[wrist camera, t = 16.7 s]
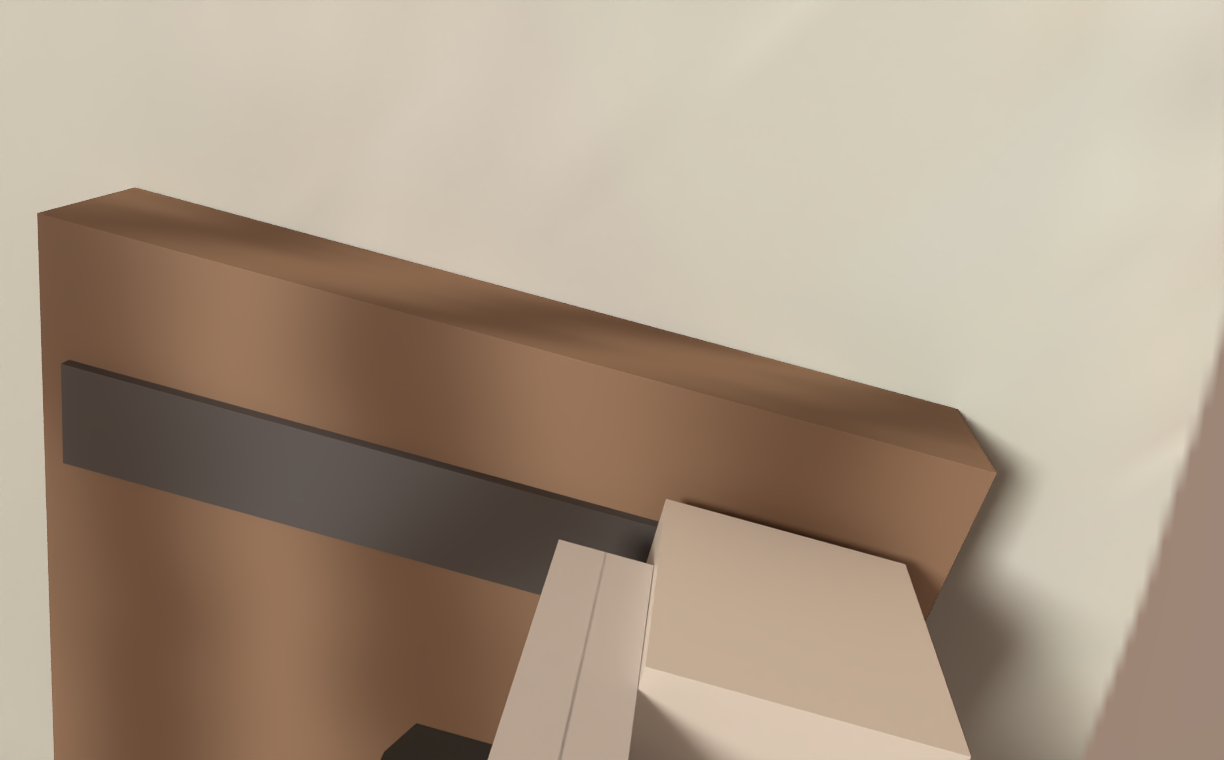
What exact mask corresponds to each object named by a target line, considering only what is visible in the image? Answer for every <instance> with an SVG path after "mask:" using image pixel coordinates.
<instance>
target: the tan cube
mask: <svg viewBox="0 0 1224 760" xmlns="http://www.w3.org/2000/svg"><path fill="white" fill-rule="evenodd" d="M646 563H647V564H650V565H653V573H652V581H651V588H650V596H649V604H648V611H647V619H646V627H645V635H644V642H643V650H642V658H641V665H640V673H639V681H638V688H637V696H636V704H635V711H634V719H633V727H632V734H631V742H630V750H629V758H628V760H970V758H971V755H970V752H969V749H968V746H967V743H966V740H965V737H964V734H963V732H962V729H961V726H960V723H959V720H958V717H957V714H956V711H955V708H954V705H953V702H952V699H951V696H950V693H949V691H948V688H947V685H946V682H945V679H944V676H943V673H942V670H941V667H940V664H939V661H938V658H937V655H936V652H935V650H934V647H933V644H932V641H931V638H930V635H929V632H928V629H927V626H926V623H925V620H924V617H923V614H922V611H921V609H920V606H919V603H918V600H917V597H916V594H915V591H914V588H913V585H912V582H911V579H910V576H909V573H908V570H907V568H906V565H905V564H903V563H899V562H895V561H892V560H888V559H884V558H881V557H877V556H873V555H870V554H866V553H862V552H859V551H855V550H851V549H848V548H844V547H840V546H837V545H833V544H829V543H826V542H822V541H818V540H815V539H811V538H808V537H804V536H800V535H797V534H793V533H789V532H786V531H782V530H778V529H775V528H771V527H767V526H764V525H760V524H756V523H753V522H749V521H745V520H742V519H738V518H734V517H731V516H727V515H723V514H720V513H716V512H712V511H709V510H705V509H701V508H698V507H694V506H691V505H687V504H683V503H680V502H676V501H672V500H669V499H666V501H665V504H664V507H663V511H662V514H661V517H660V520H659V523H658V527H657V530H656V533H655V536H654V540H653V543H652V546H651V549H650V553H649V556H648V559H647V562H646Z"/></svg>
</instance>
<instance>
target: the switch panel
mask: <svg viewBox="0 0 1224 760" xmlns="http://www.w3.org/2000/svg"><path fill="white" fill-rule="evenodd" d="M37 217H38V250H39V282H40V315H41V347H42V379H43V412H44V444H45V477H46V509H47V542H48V574H49V606H50V639H51V671H52V704H53V736H54V760H380V759H381V757H382V755H383V753H384V751H386V750H387V749H388V748H389V747H390V746H391V745H392V744H393V743H395V742H396V741H397V740H398V739H399V738H400V737H401V736H402V735H403V734H405V733H406V732H407V731H408V730H409V729H410V728H411V727H412V726H414V725H415V724H416V723H418V724H421V725H425V726H429V727H432V728H436V729H439V730H443V731H446V732H450V733H454V734H457V735H461V736H464V737H468V738H471V739H475V740H479V741H482V742H486V743H489V744H493V742H494V739H495V736H496V732H497V729H498V726H499V723H500V720H501V717H502V714H503V711H504V708H505V705H506V702H507V698H508V695H509V692H510V689H511V686H512V683H513V680H514V677H515V674H516V671H517V667H518V664H519V661H520V658H521V655H522V652H523V649H524V646H525V643H526V640H527V636H528V633H529V630H530V627H531V624H532V621H533V618H534V615H535V612H536V609H537V606H538V602H539V599H540V596H541V593H542V590H543V587H544V584H545V581H546V578H547V575H548V571H549V568H550V565H551V562H552V559H553V556H554V553H555V550H556V547H557V544H558V540H563V541H567V542H570V543H574V544H578V545H581V546H585V547H589V548H592V549H596V550H599V551H603V552H607V553H610V554H614V555H618V556H621V557H625V558H629V559H632V560H636V561H639V562H643V563H646V562H647V559H648V556H649V553H650V549H651V546H652V543H653V540H654V536H655V533H656V530H657V527H658V523H659V520H660V517H661V514H662V511H663V507H664V504H665V501H666V499H669V500H672V501H676V502H680V503H683V504H687V505H691V506H694V507H698V508H701V509H705V510H709V511H712V512H716V513H720V514H723V515H727V516H731V517H734V518H738V519H742V520H745V521H749V522H753V523H756V524H760V525H764V526H767V527H771V528H775V529H778V530H782V531H786V532H789V533H793V534H797V535H800V536H804V537H808V538H811V539H815V540H818V541H822V542H826V543H829V544H833V545H837V546H840V547H844V548H848V549H851V550H855V551H859V552H862V553H866V554H870V555H873V556H877V557H881V558H884V559H888V560H892V561H895V562H899V563H903V564H905V565H906V568H907V570H908V573H909V576H910V579H911V582H912V585H913V588H914V591H915V594H916V597H917V600H918V603H919V606H920V609H921V611H922V614H923V617H924V620H925V621H926V619H927V617H928V615H929V613H930V611H931V609H932V606H933V604H934V602H935V600H936V598H937V596H938V594H939V592H940V590H941V588H942V586H943V584H944V582H945V580H946V578H947V575H948V573H949V571H950V569H951V567H952V565H953V563H954V561H955V559H956V557H957V555H958V553H959V551H960V549H961V546H962V544H963V542H964V540H965V538H966V536H967V534H968V532H969V530H970V528H971V526H972V524H973V522H974V520H975V517H976V515H977V513H978V511H979V509H980V507H981V505H982V503H983V501H984V499H985V497H986V495H987V493H988V491H989V488H990V486H991V484H992V482H993V480H994V478H995V476H996V474H997V472H996V471H995V469H994V467H993V466H992V464H991V463H990V461H989V459H988V458H987V456H986V455H985V453H984V451H983V450H982V448H981V447H980V445H979V443H978V442H977V440H976V438H975V437H974V435H973V434H972V432H971V430H970V429H969V427H968V426H967V424H966V422H965V421H964V419H963V417H962V416H961V414H960V413H959V411H958V409H955V408H951V407H947V406H943V405H940V404H936V403H932V402H929V401H925V400H921V399H917V398H914V397H910V396H906V395H903V394H899V393H895V392H891V391H888V390H884V389H880V388H877V387H873V386H869V385H866V384H862V383H858V382H854V381H851V380H847V379H843V378H840V377H836V376H832V375H828V374H825V373H821V372H817V371H814V370H810V369H806V368H802V367H799V366H795V365H791V364H788V363H784V362H780V361H776V360H773V359H769V358H765V357H762V356H758V355H754V354H750V353H747V352H743V351H739V350H736V349H732V348H728V347H725V346H721V345H717V344H713V343H710V342H706V341H702V340H699V339H695V338H691V337H687V336H684V335H680V334H676V333H673V332H669V331H665V330H661V329H658V328H654V327H650V326H647V325H643V324H639V323H635V322H632V321H628V320H624V319H621V318H617V317H613V316H609V315H606V314H602V313H598V312H595V311H591V310H587V309H584V308H580V307H576V306H572V305H569V304H565V303H561V302H558V301H554V300H550V299H546V298H543V297H539V296H535V295H532V294H528V293H524V292H520V291H517V290H513V289H509V288H506V287H502V286H498V285H494V284H491V283H487V282H483V281H480V280H476V279H472V278H468V277H465V276H461V275H457V274H454V273H450V272H446V271H443V270H439V269H435V268H431V267H428V266H424V265H420V264H417V263H413V262H409V261H405V260H402V259H398V258H394V257H391V256H387V255H383V254H379V253H376V252H372V251H368V250H365V249H361V248H357V247H353V246H350V245H346V244H342V243H339V242H335V241H331V240H327V239H324V238H320V237H316V236H313V235H309V234H305V233H302V232H298V231H294V230H290V229H287V228H283V227H279V226H276V225H272V224H268V223H264V222H261V221H257V220H253V219H250V218H246V217H242V216H238V215H235V214H231V213H227V212H224V211H220V210H216V209H212V208H209V207H205V206H201V205H198V204H194V203H190V202H186V201H183V200H179V199H175V198H172V197H168V196H164V195H161V194H157V193H153V192H149V191H146V190H142V189H138V188H131V189H127V190H124V191H120V192H116V193H112V194H108V195H105V196H101V197H97V198H93V199H89V200H86V201H82V202H78V203H74V204H70V205H67V206H63V207H59V208H55V209H52V210H48V211H44V212H40V213H37Z"/></svg>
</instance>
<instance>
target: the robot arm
mask: <svg viewBox="0 0 1224 760" xmlns="http://www.w3.org/2000/svg"><path fill="white" fill-rule="evenodd" d="M652 573H653V565H650V564H647V563H643V562H639V561H636V560H632V559H629V558H625V557H621V556H618V555H614V554H610V553H607V552H603V551H599V550H596V549H592V548H589V547H585V546H581V545H578V544H574V543H570V542H567V541H563V540H558V544H557V547H556V550H555V553H554V556H553V559H552V562H551V565H550V568H549V571H548V575H547V578H546V581H545V584H544V587H543V590H542V593H541V596H540V599H539V602H538V606H537V609H536V612H535V615H534V618H533V621H532V624H531V627H530V630H529V633H528V636H527V640H526V643H525V646H524V649H523V652H522V655H521V658H520V661H519V664H518V667H517V671H516V674H515V677H514V680H513V683H512V686H511V689H510V692H509V695H508V698H507V702H506V705H505V708H504V711H503V714H502V717H501V720H500V723H499V726H498V729H497V732H496V736H495V739H494V742H493V744H489V743H486V742H482V741H479V740H475V739H471V738H468V737H464V736H461V735H457V734H454V733H450V732H446V731H443V730H439V729H436V728H432V727H429V726H425V725H421V724H418V723H416V724H415V725H414V726H412V727H411V728H410V729H409V730H408V731H407V732H406V733H405V734H403V735H402V736H401V737H400V738H399V739H398V740H397V741H396V742H395V743H393V744H392V745H391V746H390V747H389V748H388V749H387V750H386V751H384V753H383V755H382V757H381V759H380V760H628V758H629V750H630V742H631V734H632V727H633V719H634V711H635V704H636V696H637V688H638V681H639V673H640V665H641V658H642V650H643V642H644V635H645V627H646V619H647V611H648V604H649V596H650V588H651V581H652Z"/></svg>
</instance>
